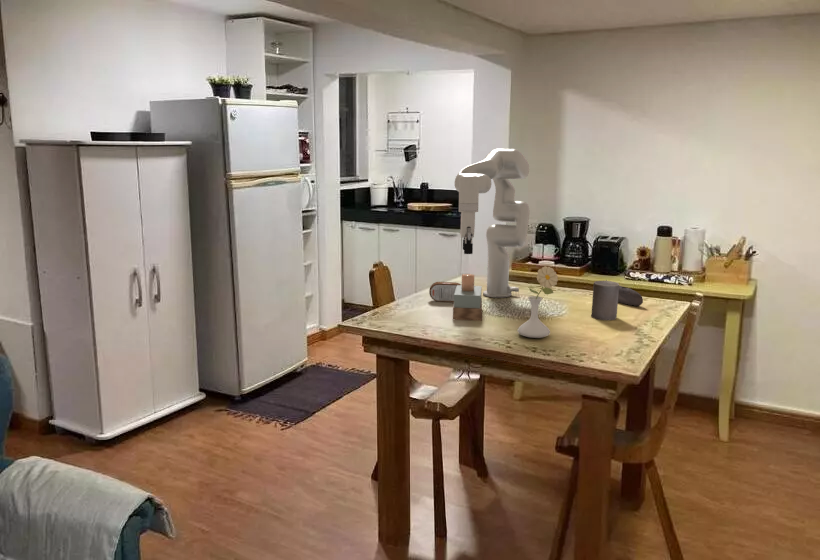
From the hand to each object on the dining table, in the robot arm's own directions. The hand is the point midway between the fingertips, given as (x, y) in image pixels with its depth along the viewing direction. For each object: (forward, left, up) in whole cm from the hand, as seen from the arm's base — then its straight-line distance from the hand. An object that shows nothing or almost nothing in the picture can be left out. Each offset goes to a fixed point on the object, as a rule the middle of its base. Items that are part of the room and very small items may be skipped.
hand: (467, 251), depth 259 cm
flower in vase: (-23, +30, -25) cm, 45 cm away
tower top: (-1, 0, -20) cm, 20 cm away
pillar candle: (-54, +2, -25) cm, 60 cm away
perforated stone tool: (-70, -21, -25) cm, 77 cm away
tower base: (-1, 0, -25) cm, 25 cm away
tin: (+7, -21, -25) cm, 33 cm away
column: (0, 0, -15) cm, 15 cm away
